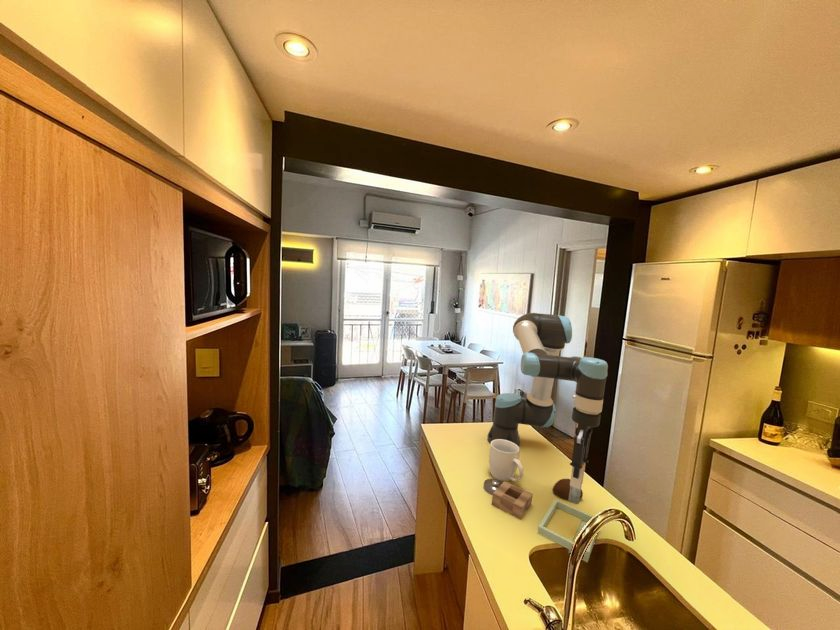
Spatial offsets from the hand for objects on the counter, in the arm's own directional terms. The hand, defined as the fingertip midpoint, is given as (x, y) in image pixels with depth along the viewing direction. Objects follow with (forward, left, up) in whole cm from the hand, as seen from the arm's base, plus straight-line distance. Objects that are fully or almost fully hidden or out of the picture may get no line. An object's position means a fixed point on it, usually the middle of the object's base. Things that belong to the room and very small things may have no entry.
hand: (576, 484), depth 102 cm
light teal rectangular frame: (0, 0, -16) cm, 16 cm away
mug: (-12, -27, -16) cm, 34 cm away
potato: (-18, -5, -16) cm, 25 cm away
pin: (0, 0, -6) cm, 6 cm away
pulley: (-2, -26, -16) cm, 31 cm away
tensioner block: (+2, -18, -16) cm, 24 cm away
